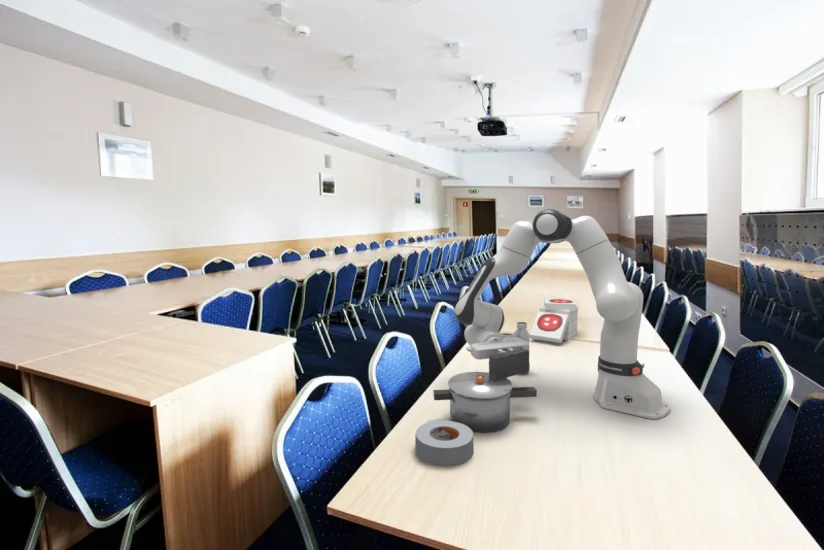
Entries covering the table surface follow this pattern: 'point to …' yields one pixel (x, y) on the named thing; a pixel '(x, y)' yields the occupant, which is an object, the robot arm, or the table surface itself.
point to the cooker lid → (491, 376)
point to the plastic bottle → (522, 333)
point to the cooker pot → (482, 409)
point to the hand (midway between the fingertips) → (511, 355)
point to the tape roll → (444, 443)
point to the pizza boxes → (556, 320)
